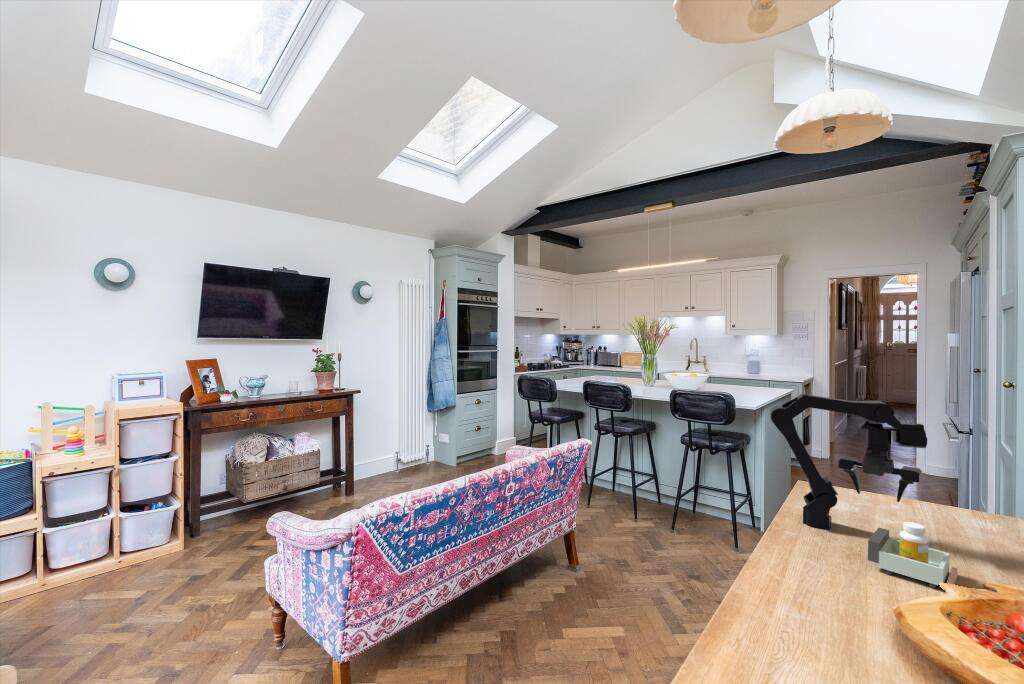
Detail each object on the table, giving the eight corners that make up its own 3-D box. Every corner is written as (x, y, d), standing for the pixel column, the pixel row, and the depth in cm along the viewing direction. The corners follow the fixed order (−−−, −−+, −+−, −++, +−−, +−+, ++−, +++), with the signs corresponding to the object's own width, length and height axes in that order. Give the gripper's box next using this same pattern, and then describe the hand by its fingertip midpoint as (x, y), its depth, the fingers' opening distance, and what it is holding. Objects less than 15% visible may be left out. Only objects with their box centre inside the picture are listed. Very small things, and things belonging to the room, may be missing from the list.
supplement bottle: (893, 559, 116) (893, 520, 116) (914, 558, 116) (914, 520, 116) (912, 570, 111) (913, 529, 111) (934, 569, 111) (935, 529, 111)
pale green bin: (867, 568, 116) (868, 540, 115) (878, 554, 123) (878, 527, 123) (942, 592, 105) (943, 560, 105) (949, 574, 113) (949, 545, 113)
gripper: (833, 443, 137) (832, 495, 137) (916, 455, 123) (915, 514, 123) (843, 437, 144) (842, 487, 144) (922, 448, 130) (922, 503, 130)
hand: (878, 497), depth 135 cm, fingers open, 9 cm apart
